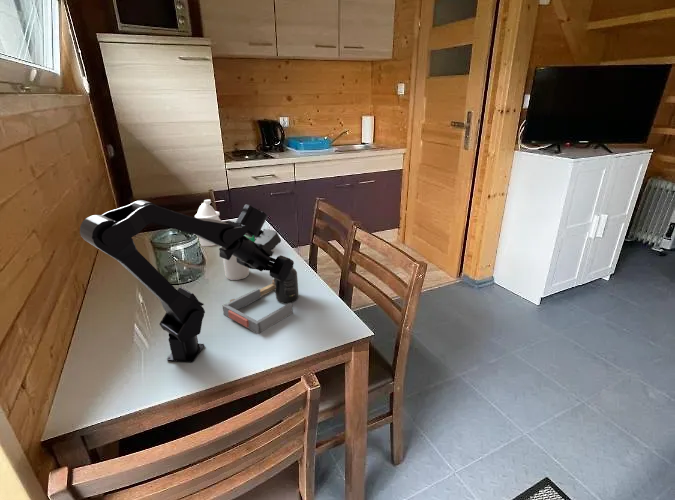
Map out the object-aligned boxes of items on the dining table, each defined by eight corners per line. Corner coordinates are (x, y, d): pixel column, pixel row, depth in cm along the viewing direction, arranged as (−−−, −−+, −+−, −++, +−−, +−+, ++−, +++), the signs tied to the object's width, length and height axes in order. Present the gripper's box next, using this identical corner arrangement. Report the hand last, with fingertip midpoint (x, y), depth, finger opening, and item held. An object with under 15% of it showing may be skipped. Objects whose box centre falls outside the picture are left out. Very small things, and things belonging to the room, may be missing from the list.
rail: (233, 310, 108) (232, 303, 107) (229, 308, 109) (228, 301, 108) (281, 286, 120) (280, 280, 120) (276, 284, 122) (275, 278, 121)
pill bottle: (225, 282, 125) (219, 240, 119) (225, 272, 132) (219, 231, 126) (250, 278, 126) (244, 237, 121) (248, 269, 134) (243, 229, 128)
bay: (256, 334, 97) (254, 325, 95) (221, 315, 106) (220, 306, 104) (292, 313, 106) (292, 303, 105) (258, 297, 115) (257, 288, 114)
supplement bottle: (302, 293, 116) (299, 258, 111) (293, 305, 110) (290, 268, 105) (281, 291, 118) (278, 256, 113) (272, 302, 112) (268, 265, 107)
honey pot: (232, 238, 163) (227, 198, 156) (209, 248, 153) (201, 205, 146) (212, 233, 169) (206, 194, 163) (188, 242, 159) (180, 201, 153)
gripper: (285, 230, 94) (317, 256, 106) (239, 217, 105) (273, 242, 117) (264, 270, 91) (299, 292, 103) (219, 252, 102) (256, 274, 114)
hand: (281, 273), depth 109 cm, fingers open, 9 cm apart
